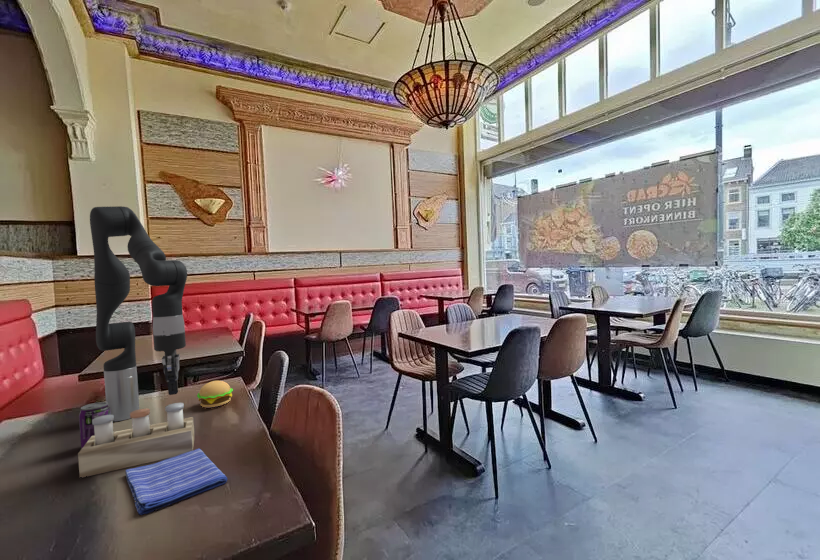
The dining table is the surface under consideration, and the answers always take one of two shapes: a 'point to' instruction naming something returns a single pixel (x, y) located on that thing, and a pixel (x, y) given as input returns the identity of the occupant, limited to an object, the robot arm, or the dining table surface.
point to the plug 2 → (175, 416)
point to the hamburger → (215, 394)
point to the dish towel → (173, 480)
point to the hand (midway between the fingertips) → (173, 393)
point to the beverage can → (88, 415)
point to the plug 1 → (103, 429)
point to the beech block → (135, 448)
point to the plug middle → (140, 422)
